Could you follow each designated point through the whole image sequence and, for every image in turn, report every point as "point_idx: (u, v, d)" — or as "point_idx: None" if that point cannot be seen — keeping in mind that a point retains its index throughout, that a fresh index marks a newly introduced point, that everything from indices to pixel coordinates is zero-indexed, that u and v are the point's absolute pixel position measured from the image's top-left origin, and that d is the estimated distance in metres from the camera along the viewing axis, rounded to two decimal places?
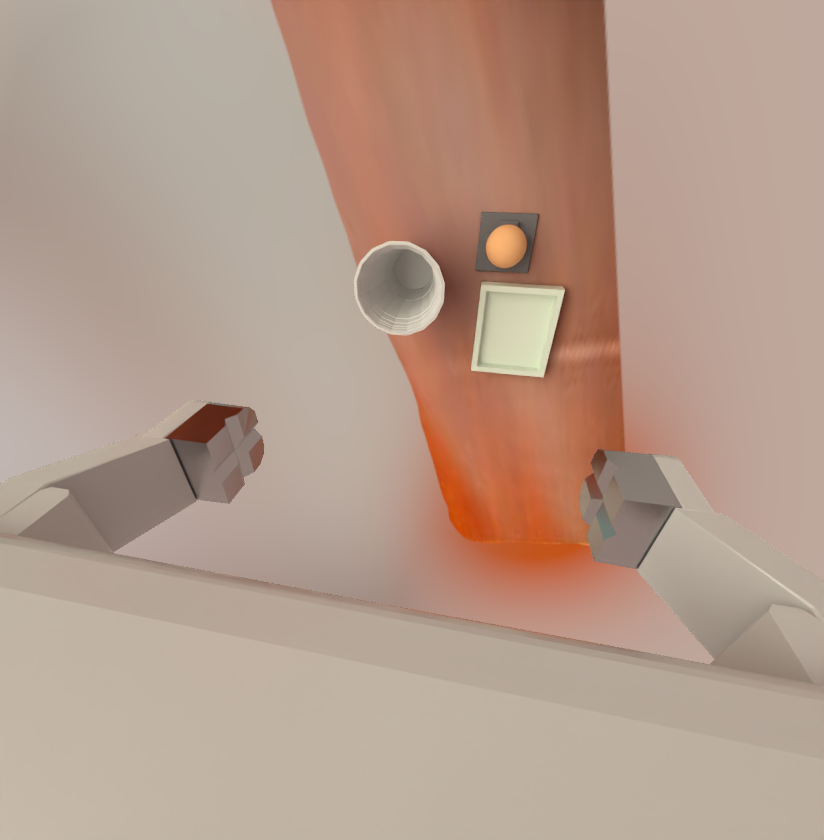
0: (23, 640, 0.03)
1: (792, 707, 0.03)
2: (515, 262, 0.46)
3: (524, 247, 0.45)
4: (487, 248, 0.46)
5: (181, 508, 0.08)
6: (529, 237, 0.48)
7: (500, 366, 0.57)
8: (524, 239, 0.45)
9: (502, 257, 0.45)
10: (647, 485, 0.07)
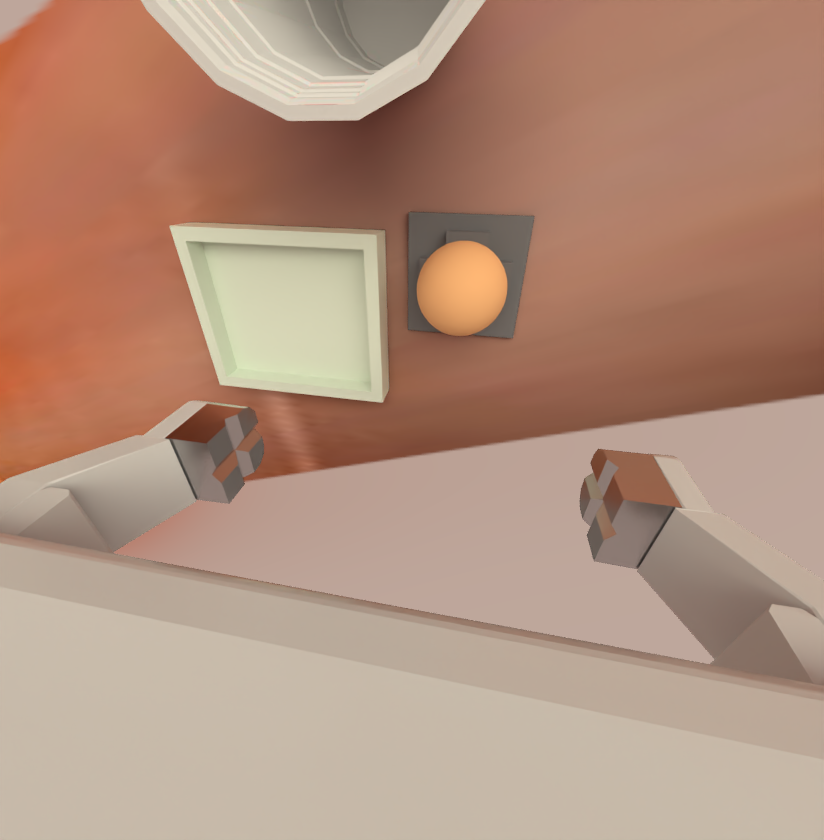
0: (23, 640, 0.03)
1: (792, 707, 0.03)
2: (429, 320, 0.20)
3: (459, 335, 0.21)
4: (460, 248, 0.19)
5: (181, 508, 0.08)
6: None
7: (212, 296, 0.26)
8: (475, 332, 0.21)
9: (441, 294, 0.19)
10: (647, 485, 0.07)
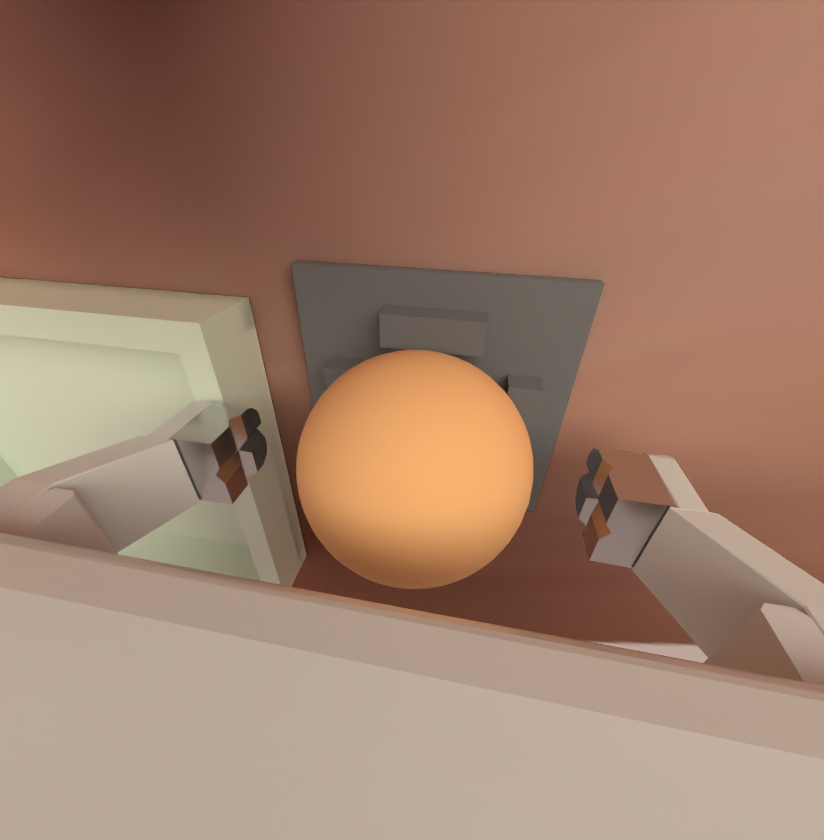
0: (23, 640, 0.03)
1: (792, 707, 0.03)
2: None
3: None
4: (398, 395, 0.06)
5: (185, 509, 0.08)
6: None
7: None
8: None
9: (339, 533, 0.06)
10: (642, 485, 0.07)
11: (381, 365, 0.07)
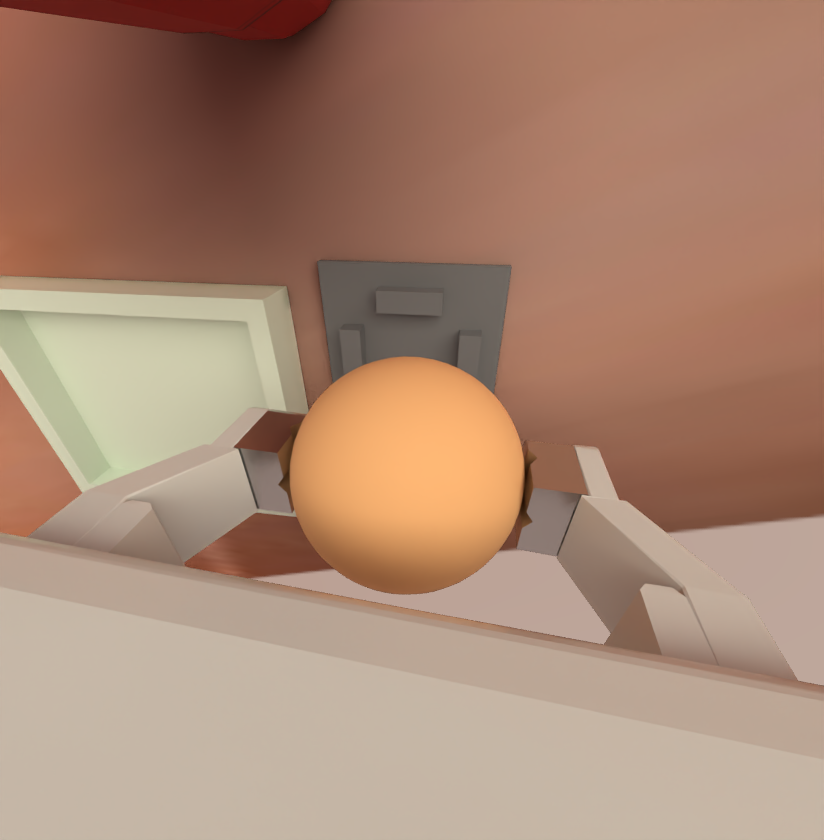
0: (23, 640, 0.03)
1: (792, 707, 0.03)
2: None
3: None
4: (389, 402, 0.06)
5: (244, 518, 0.08)
6: None
7: (48, 380, 0.17)
8: None
9: (330, 538, 0.06)
10: (560, 474, 0.07)
11: (373, 372, 0.07)
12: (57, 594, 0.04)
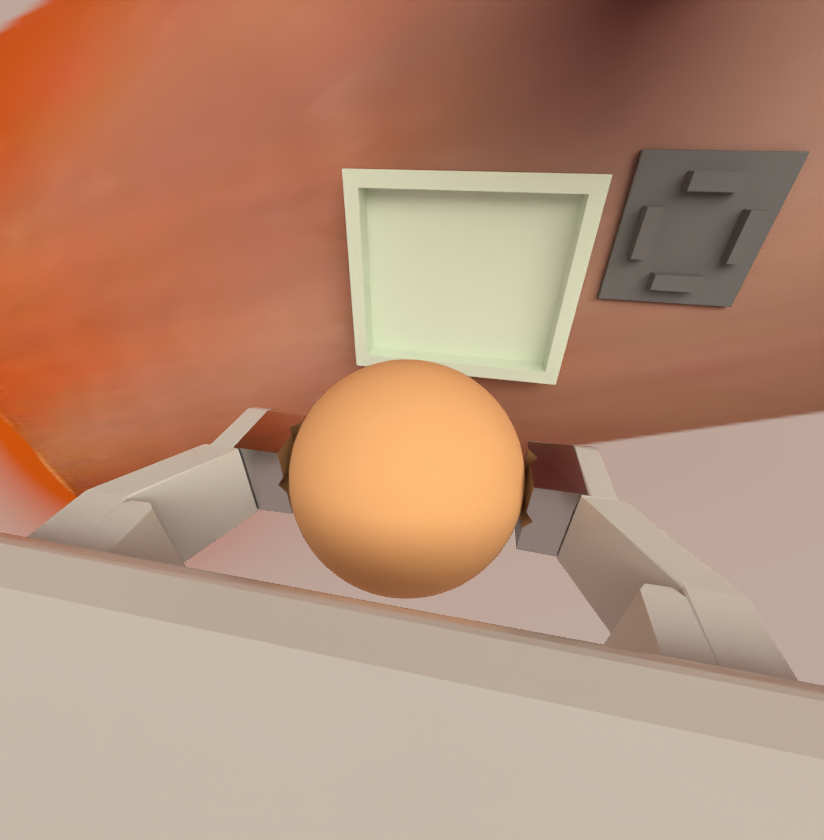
0: (23, 640, 0.03)
1: (792, 707, 0.03)
2: None
3: None
4: (388, 406, 0.06)
5: (244, 518, 0.08)
6: (683, 293, 0.21)
7: (366, 259, 0.22)
8: None
9: (329, 542, 0.06)
10: (560, 474, 0.07)
11: (372, 375, 0.07)
12: (57, 594, 0.04)
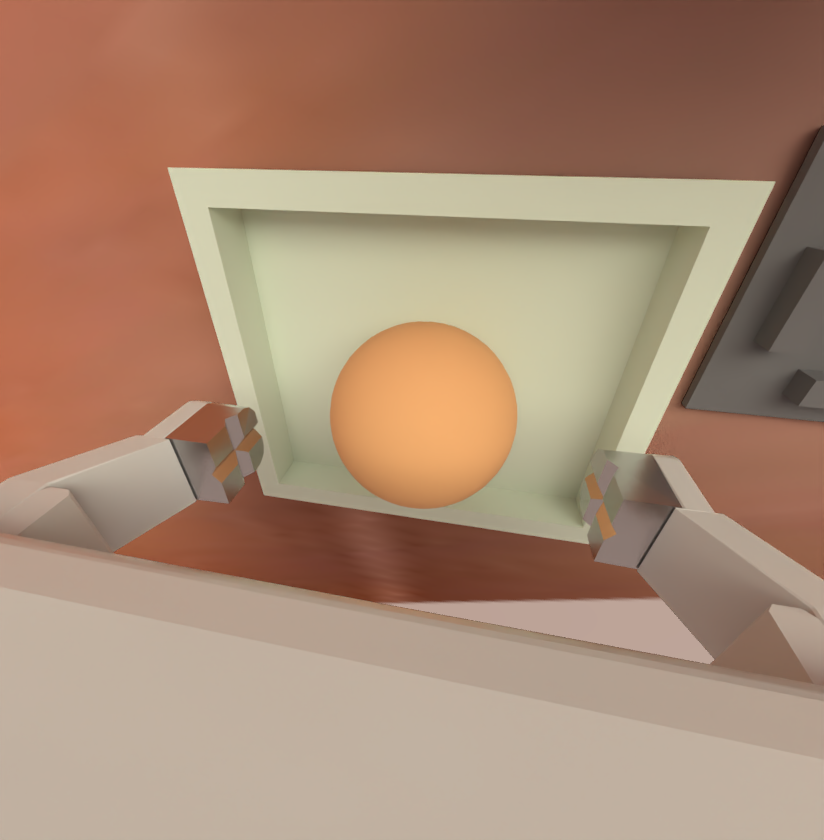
0: (23, 640, 0.03)
1: (792, 707, 0.03)
2: None
3: None
4: (412, 350, 0.08)
5: (181, 508, 0.08)
6: None
7: (258, 335, 0.12)
8: None
9: (366, 453, 0.08)
10: (647, 485, 0.07)
11: (398, 330, 0.09)
12: (57, 594, 0.04)
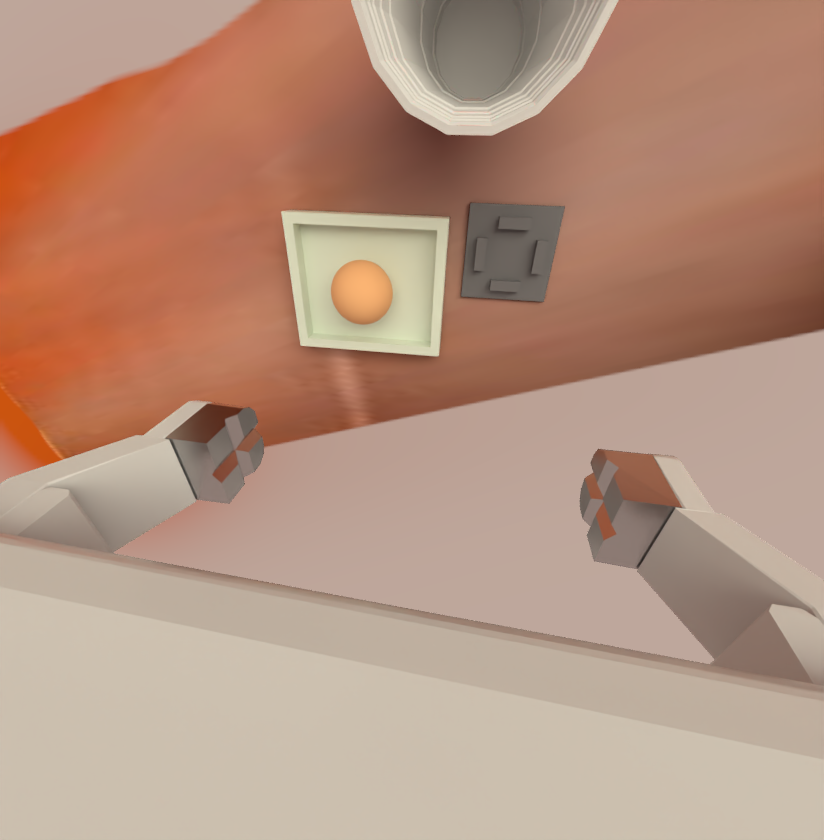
0: (23, 640, 0.03)
1: (792, 707, 0.03)
2: (339, 312, 0.30)
3: (361, 323, 0.30)
4: (355, 265, 0.28)
5: (181, 508, 0.08)
6: (513, 292, 0.31)
7: (303, 270, 0.32)
8: (371, 322, 0.30)
9: (341, 295, 0.28)
10: (647, 485, 0.07)
11: (352, 261, 0.29)
12: (57, 594, 0.04)
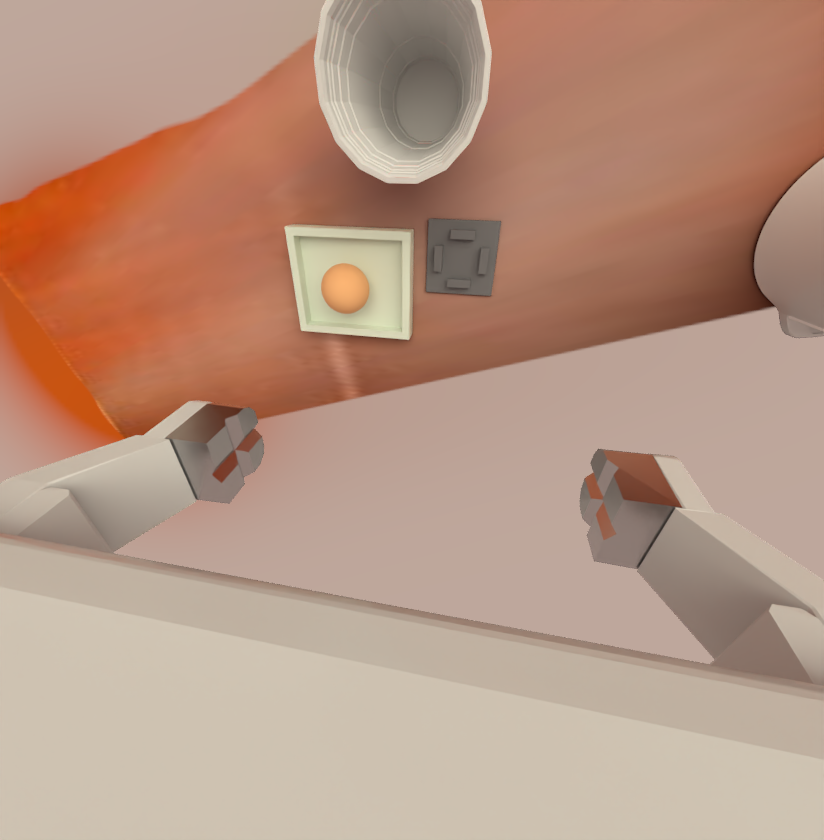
0: (23, 640, 0.03)
1: (792, 707, 0.03)
2: None
3: (344, 312, 0.39)
4: (338, 267, 0.37)
5: (181, 508, 0.08)
6: (466, 288, 0.39)
7: (302, 271, 0.40)
8: (352, 311, 0.39)
9: (327, 290, 0.37)
10: (647, 486, 0.07)
11: (337, 264, 0.37)
12: (57, 594, 0.04)
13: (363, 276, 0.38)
